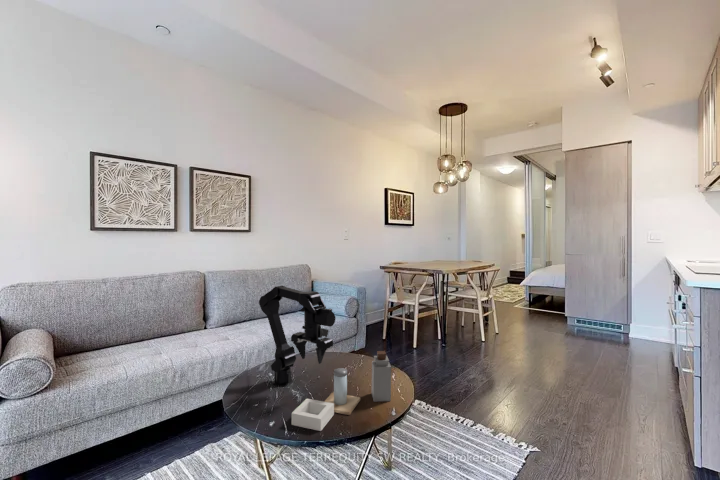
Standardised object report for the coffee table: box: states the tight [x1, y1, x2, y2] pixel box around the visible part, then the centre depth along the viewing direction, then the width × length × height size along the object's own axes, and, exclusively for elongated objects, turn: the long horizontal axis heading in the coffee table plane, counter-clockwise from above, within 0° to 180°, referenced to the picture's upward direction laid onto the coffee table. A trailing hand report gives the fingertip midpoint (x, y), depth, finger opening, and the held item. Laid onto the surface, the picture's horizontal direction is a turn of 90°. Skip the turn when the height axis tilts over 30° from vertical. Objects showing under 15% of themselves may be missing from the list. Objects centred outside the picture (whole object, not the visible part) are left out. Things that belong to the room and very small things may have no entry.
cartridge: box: [333, 367, 348, 405], centre depth 131 cm, size 5×5×12 cm
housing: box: [291, 398, 335, 432], centre depth 120 cm, size 11×11×4 cm
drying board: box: [323, 391, 361, 416], centre depth 131 cm, size 12×12×1 cm
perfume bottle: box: [371, 350, 392, 403], centre depth 137 cm, size 7×7×18 cm
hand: (311, 361), depth 140 cm, fingers open, 9 cm apart
